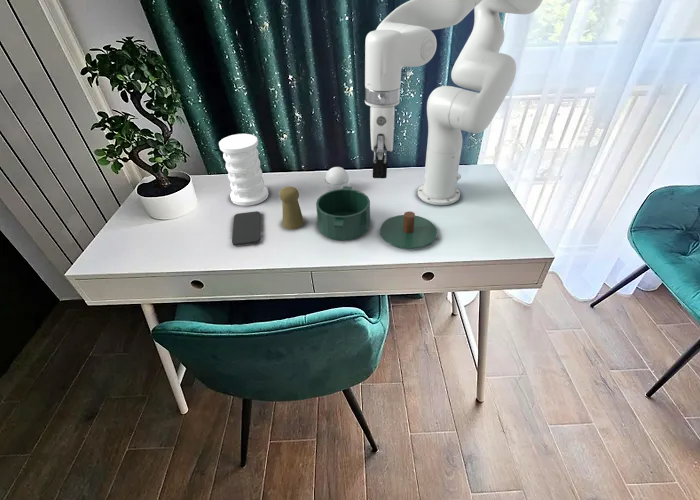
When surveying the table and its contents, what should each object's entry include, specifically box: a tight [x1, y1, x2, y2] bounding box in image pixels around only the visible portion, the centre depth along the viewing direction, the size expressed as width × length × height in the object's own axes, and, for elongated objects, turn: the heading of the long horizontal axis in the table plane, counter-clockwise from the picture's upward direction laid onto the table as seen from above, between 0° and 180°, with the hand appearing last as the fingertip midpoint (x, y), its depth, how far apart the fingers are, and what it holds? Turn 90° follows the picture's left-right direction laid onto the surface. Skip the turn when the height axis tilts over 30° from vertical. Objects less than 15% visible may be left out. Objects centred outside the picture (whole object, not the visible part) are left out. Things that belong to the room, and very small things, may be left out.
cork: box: [279, 185, 305, 230], centre depth 109 cm, size 6×6×11 cm
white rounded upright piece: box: [324, 166, 350, 191], centre depth 124 cm, size 10×7×7 cm
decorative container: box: [218, 133, 269, 207], centre depth 120 cm, size 12×12×18 cm
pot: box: [315, 185, 371, 242], centre depth 109 cm, size 14×20×8 cm
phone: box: [231, 210, 261, 247], centre depth 111 cm, size 7×1×15 cm
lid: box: [379, 211, 438, 250], centre depth 105 cm, size 15×15×6 cm
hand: (379, 168), depth 97 cm, fingers open, 9 cm apart
